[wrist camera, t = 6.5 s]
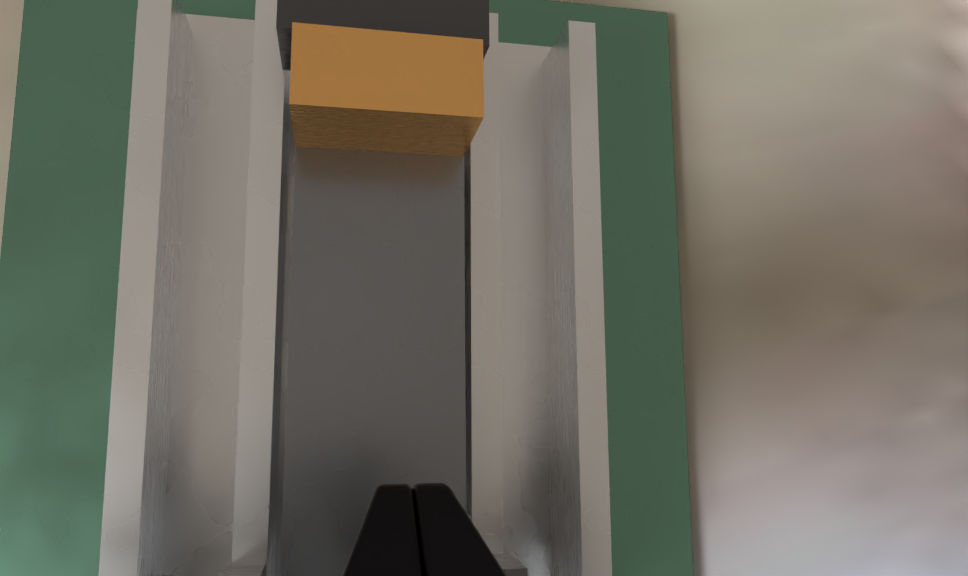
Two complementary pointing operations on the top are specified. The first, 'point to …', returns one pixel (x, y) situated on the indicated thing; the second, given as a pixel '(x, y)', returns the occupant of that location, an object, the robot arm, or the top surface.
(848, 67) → the top surface
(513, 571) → the green railed baseplate
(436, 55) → the wood block
